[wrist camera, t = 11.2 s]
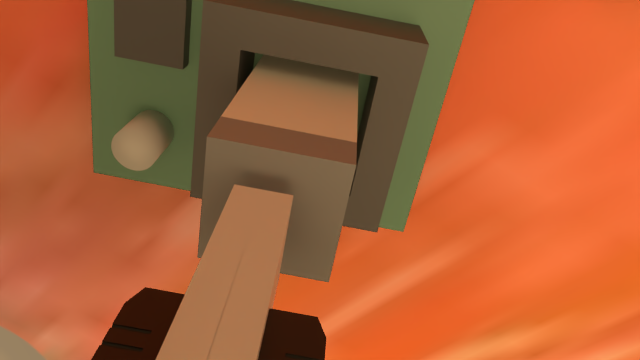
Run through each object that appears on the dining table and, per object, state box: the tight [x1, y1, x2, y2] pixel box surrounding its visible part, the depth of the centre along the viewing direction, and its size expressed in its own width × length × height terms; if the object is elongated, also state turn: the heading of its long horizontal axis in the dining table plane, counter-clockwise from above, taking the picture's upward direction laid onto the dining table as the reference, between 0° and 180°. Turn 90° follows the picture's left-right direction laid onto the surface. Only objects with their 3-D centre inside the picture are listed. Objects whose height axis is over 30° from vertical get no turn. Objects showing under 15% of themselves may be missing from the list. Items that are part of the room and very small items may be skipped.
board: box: [87, 0, 474, 232], centre depth 22 cm, size 16×12×5 cm
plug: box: [198, 55, 359, 282], centre depth 19 cm, size 4×4×10 cm
